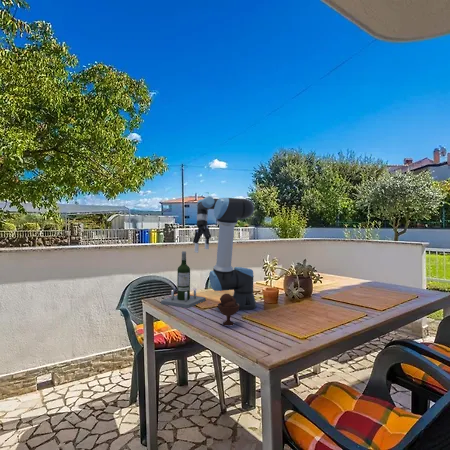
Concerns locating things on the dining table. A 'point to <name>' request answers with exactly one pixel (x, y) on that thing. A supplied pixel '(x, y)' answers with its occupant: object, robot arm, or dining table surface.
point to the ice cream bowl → (228, 307)
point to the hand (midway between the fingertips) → (201, 250)
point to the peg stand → (183, 303)
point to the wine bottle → (183, 279)
